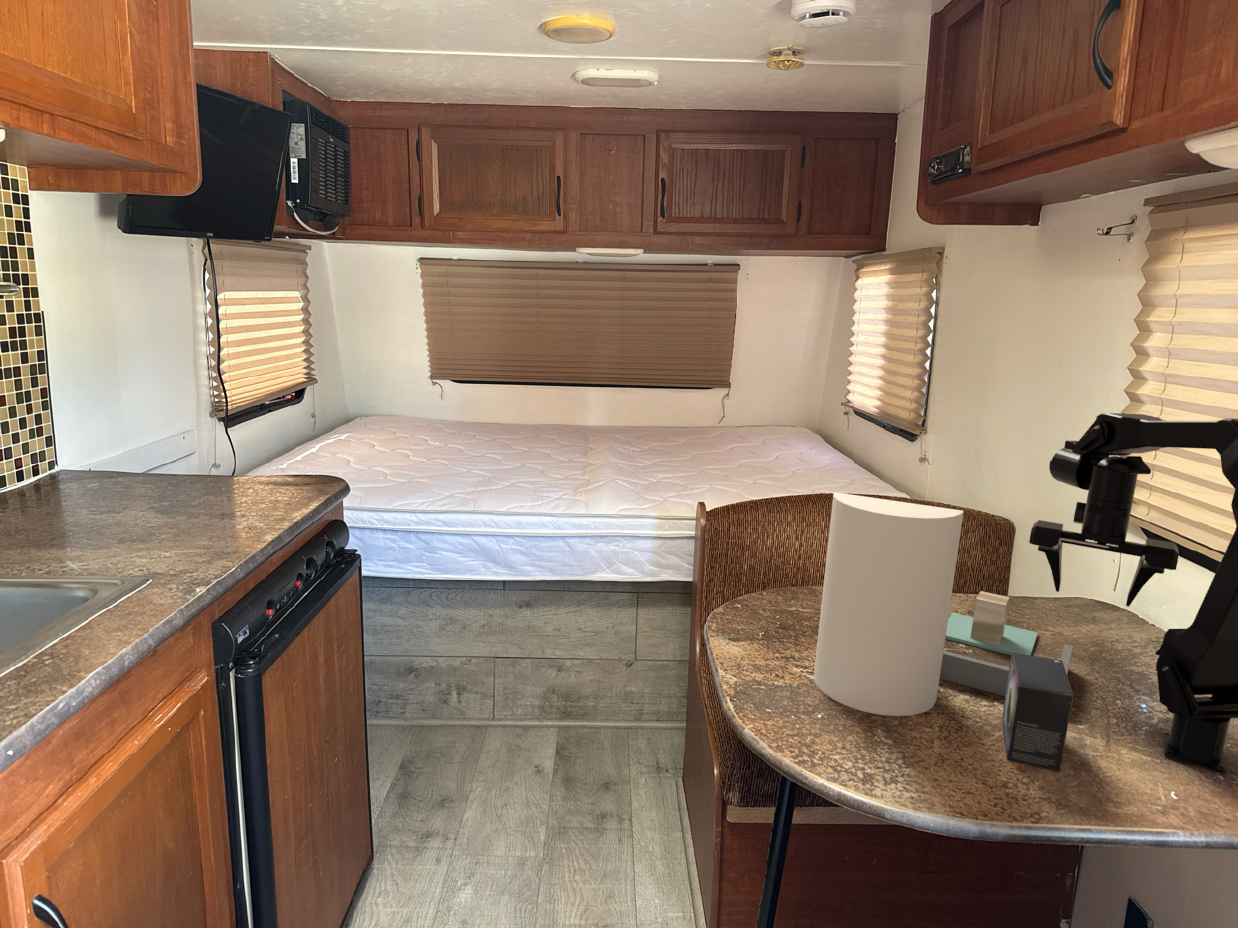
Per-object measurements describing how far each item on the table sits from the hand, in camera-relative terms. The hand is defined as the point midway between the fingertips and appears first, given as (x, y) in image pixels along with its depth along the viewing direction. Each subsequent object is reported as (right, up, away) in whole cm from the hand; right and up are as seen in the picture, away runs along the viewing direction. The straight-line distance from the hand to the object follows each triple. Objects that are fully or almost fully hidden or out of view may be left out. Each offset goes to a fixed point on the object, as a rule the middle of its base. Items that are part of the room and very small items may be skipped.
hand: (1091, 598), depth 121 cm
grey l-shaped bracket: (-16, -11, +5) cm, 20 cm away
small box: (-19, -16, -18) cm, 30 cm away
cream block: (-9, -9, +15) cm, 20 cm away
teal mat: (-8, -9, +17) cm, 21 cm away
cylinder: (-34, -12, -3) cm, 36 cm away
